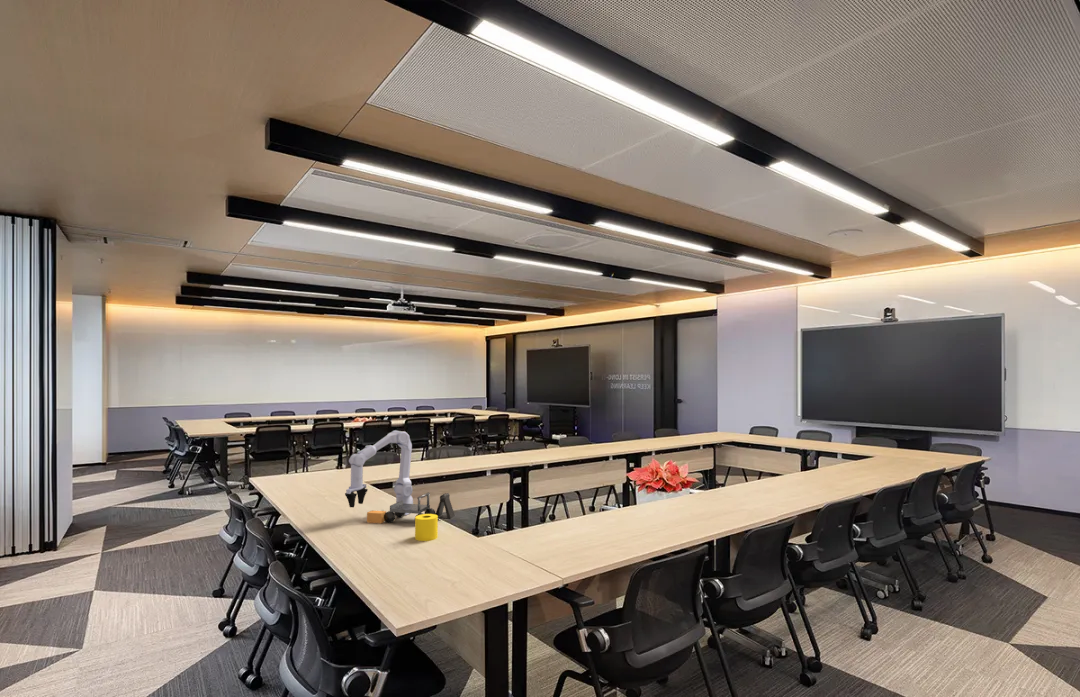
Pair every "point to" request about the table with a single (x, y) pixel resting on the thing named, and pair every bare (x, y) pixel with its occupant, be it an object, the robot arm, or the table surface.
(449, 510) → the grey a-frame stand
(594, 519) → the table surface
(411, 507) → the trolley
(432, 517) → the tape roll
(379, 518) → the orange rectangular block
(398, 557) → the table surface
